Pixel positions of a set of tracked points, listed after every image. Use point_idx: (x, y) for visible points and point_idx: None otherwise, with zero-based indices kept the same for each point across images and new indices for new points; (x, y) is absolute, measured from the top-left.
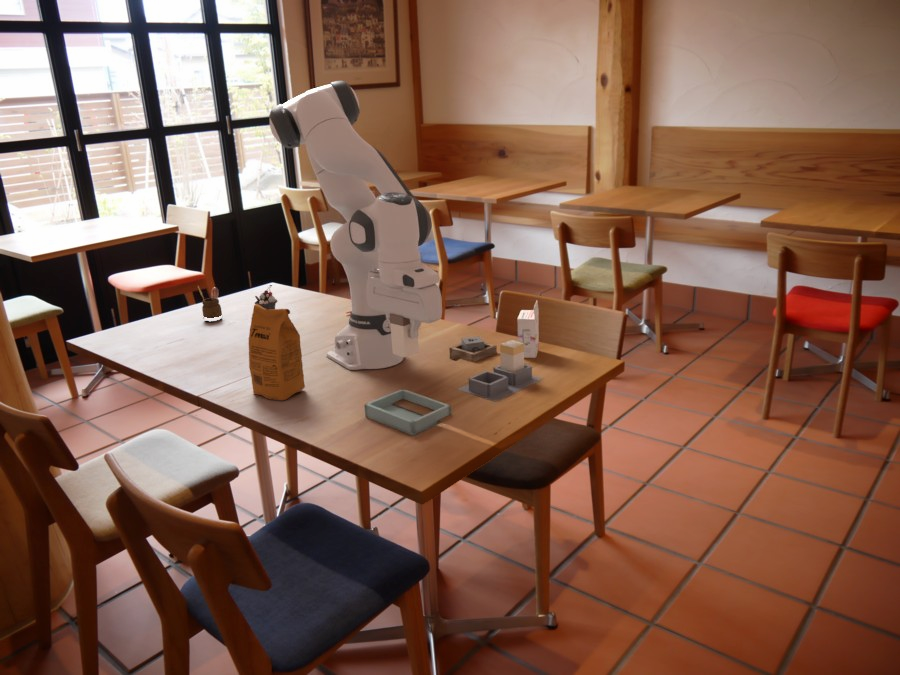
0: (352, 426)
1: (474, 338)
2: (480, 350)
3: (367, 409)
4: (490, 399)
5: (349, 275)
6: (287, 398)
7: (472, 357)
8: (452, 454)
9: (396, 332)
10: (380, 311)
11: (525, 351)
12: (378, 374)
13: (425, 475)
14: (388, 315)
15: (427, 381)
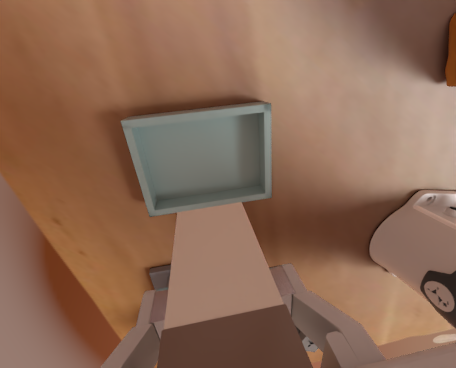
0: (245, 52)
1: (313, 346)
2: None
3: (259, 103)
4: (160, 272)
5: None
6: (449, 27)
7: None
8: (8, 123)
9: (226, 272)
10: (428, 350)
11: None
12: (369, 212)
13: None
14: (346, 348)
15: (290, 247)
